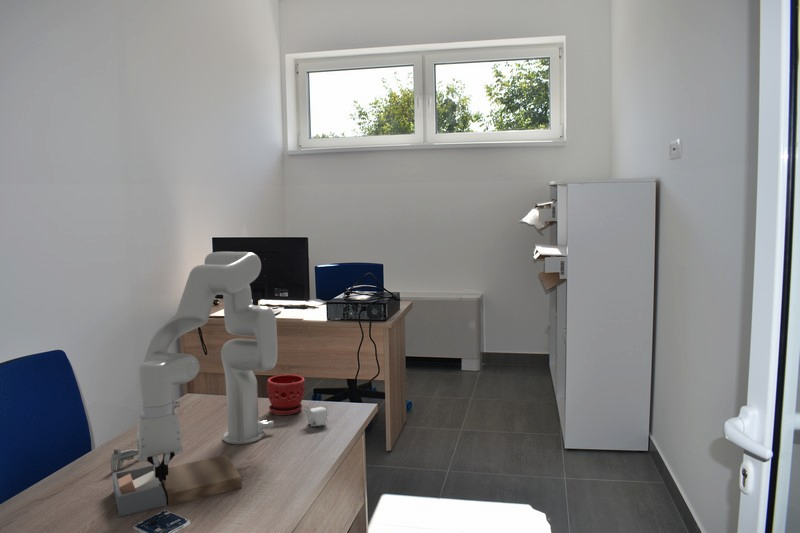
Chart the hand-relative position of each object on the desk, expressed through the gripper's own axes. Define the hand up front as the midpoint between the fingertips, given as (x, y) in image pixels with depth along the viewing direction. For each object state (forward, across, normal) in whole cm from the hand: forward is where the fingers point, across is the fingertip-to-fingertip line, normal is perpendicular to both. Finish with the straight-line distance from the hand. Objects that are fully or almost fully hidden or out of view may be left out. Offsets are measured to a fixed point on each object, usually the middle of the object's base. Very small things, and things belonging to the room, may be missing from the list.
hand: (162, 478), depth 152 cm
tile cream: (+2, +3, 0) cm, 4 cm away
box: (+4, +6, 0) cm, 7 cm away
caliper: (+4, +2, -26) cm, 27 cm away
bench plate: (+4, -9, 0) cm, 10 cm away
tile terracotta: (0, +6, 0) cm, 6 cm away
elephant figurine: (+4, -52, -23) cm, 57 cm away
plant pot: (+4, -48, -42) cm, 64 cm away
